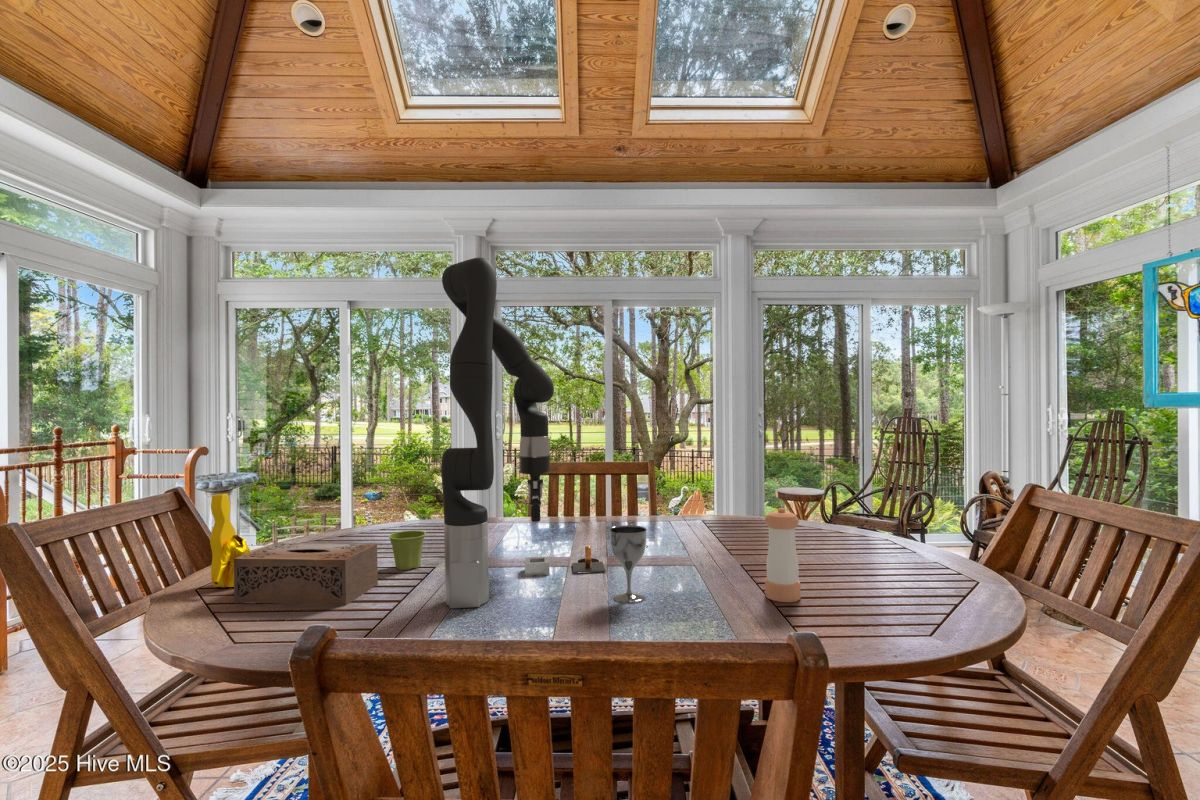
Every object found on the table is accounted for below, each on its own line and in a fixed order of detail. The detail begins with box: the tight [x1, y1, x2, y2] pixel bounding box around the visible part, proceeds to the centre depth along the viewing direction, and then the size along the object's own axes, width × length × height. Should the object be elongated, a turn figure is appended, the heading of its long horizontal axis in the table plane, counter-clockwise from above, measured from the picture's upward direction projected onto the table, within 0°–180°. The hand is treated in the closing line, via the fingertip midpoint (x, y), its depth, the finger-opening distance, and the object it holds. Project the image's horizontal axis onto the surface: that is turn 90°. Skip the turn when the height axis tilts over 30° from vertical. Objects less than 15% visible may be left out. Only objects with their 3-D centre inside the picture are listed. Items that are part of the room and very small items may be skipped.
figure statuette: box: [209, 493, 252, 588], centre depth 145 cm, size 18×8×22 cm, turn 1°
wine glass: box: [609, 524, 647, 605], centre depth 131 cm, size 8×8×15 cm
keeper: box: [571, 545, 607, 574], centre depth 154 cm, size 8×8×6 cm
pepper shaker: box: [764, 507, 802, 603], centre depth 130 cm, size 7×7×19 cm
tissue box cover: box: [233, 542, 379, 606], centre depth 138 cm, size 26×14×10 cm, turn 84°
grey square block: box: [524, 556, 551, 577], centre depth 152 cm, size 6×6×3 cm
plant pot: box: [388, 530, 427, 571], centre depth 158 cm, size 9×9×9 cm
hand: (535, 517), depth 152 cm, fingers open, 8 cm apart
